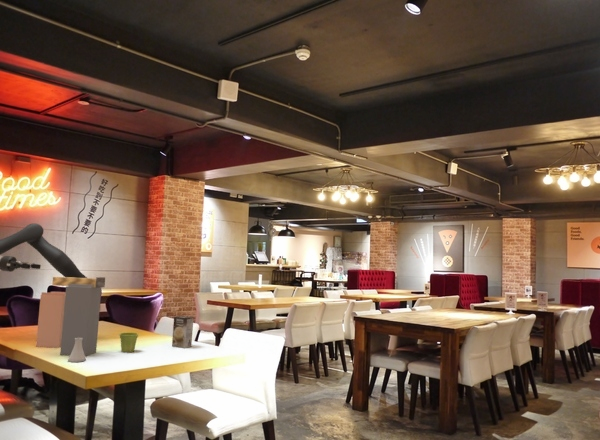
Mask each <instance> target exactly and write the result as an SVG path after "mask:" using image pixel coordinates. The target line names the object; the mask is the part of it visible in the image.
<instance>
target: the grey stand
mask: <svg viewBox="0 0 600 440" xmlns="http://www.w3.org/2000/svg"><path fill="white" fill-rule="evenodd" d="M65 292H66V294H65V305H64V316H63V328H62V339H61V347H60V353H59V356H69V357H70V355H71V353H72V350H73V348H74V345H75V338H83V339H82V348H83V351H84V355H85V357H87V356H89V355H90V356H91V355H93V354H96V353H97V348H98V346H97V345H98V332H99V322H100V321H99V320H100V308H101V298H102V288H96V287H94V285H86V284H68V286H65Z"/></svg>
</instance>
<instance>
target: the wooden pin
mask: <svg viewBox="0 0 600 440" xmlns="http://www.w3.org/2000/svg"><path fill="white" fill-rule="evenodd" d="M105 283H106V277H103V276H99V277H95V278H90V277H89V278H88V277H87V278H71V277H64V276H52V285H51V286H59V287H66V286H68V284H86V285H94V287H96V288H101V289H102V288H105V286H106V284H105Z"/></svg>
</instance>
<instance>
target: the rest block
mask: <svg viewBox="0 0 600 440" xmlns="http://www.w3.org/2000/svg"><path fill="white" fill-rule="evenodd" d="M65 294H66V291H50V292H46V291H45V292H41V294H40V299H39V310H38V320H37V321H38V322H37V331H36V332H37V333H36V340H35V341H36V343H35V347H38V348H39V347H40V348H53V347H54V348H56V349H57V348H59V349H61V339H62V328H63V316H64V305H65Z"/></svg>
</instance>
